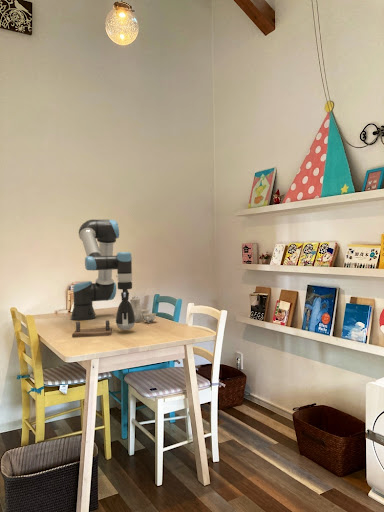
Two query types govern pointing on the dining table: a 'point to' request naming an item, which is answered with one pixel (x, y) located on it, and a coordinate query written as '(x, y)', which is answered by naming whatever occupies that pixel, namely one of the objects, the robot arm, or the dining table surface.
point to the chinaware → (141, 311)
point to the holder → (92, 331)
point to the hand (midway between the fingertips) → (125, 323)
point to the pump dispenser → (130, 317)
